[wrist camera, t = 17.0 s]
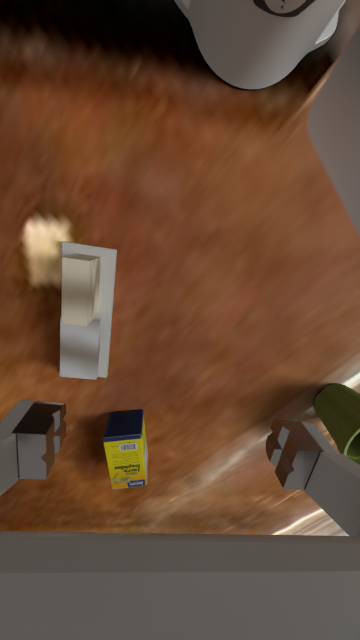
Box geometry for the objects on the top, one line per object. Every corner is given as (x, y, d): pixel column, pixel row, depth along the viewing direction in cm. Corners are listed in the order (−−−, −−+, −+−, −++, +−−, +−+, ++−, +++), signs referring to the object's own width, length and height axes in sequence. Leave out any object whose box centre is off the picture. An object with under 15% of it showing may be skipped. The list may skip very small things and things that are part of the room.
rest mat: (64, 241, 34) (62, 241, 33) (116, 249, 35) (115, 249, 34) (63, 370, 40) (60, 373, 39) (107, 374, 41) (106, 377, 40)
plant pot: (313, 435, 49) (356, 490, 39) (292, 391, 45) (332, 439, 35) (370, 407, 48) (430, 456, 37) (352, 360, 44) (414, 400, 34)
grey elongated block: (70, 252, 34) (52, 255, 28) (108, 257, 34) (98, 262, 29) (68, 364, 39) (53, 386, 33) (101, 367, 40) (91, 389, 34)
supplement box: (101, 438, 38) (111, 490, 42) (141, 434, 38) (147, 486, 42) (108, 411, 44) (116, 460, 47) (143, 408, 44) (148, 456, 48)
